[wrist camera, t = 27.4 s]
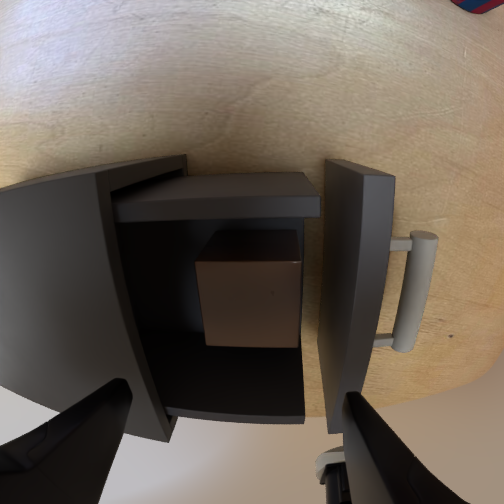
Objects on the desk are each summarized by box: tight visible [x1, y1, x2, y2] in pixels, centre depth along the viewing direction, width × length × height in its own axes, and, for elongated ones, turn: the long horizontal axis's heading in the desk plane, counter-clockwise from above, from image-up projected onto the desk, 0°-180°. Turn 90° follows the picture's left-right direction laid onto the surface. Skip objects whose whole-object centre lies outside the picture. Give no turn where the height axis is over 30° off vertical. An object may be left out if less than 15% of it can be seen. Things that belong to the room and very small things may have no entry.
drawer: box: [110, 159, 438, 434], centre depth 16 cm, size 20×14×9 cm
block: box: [194, 230, 302, 348], centre depth 17 cm, size 5×5×5 cm
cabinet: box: [0, 154, 188, 443], centre depth 17 cm, size 17×15×11 cm
